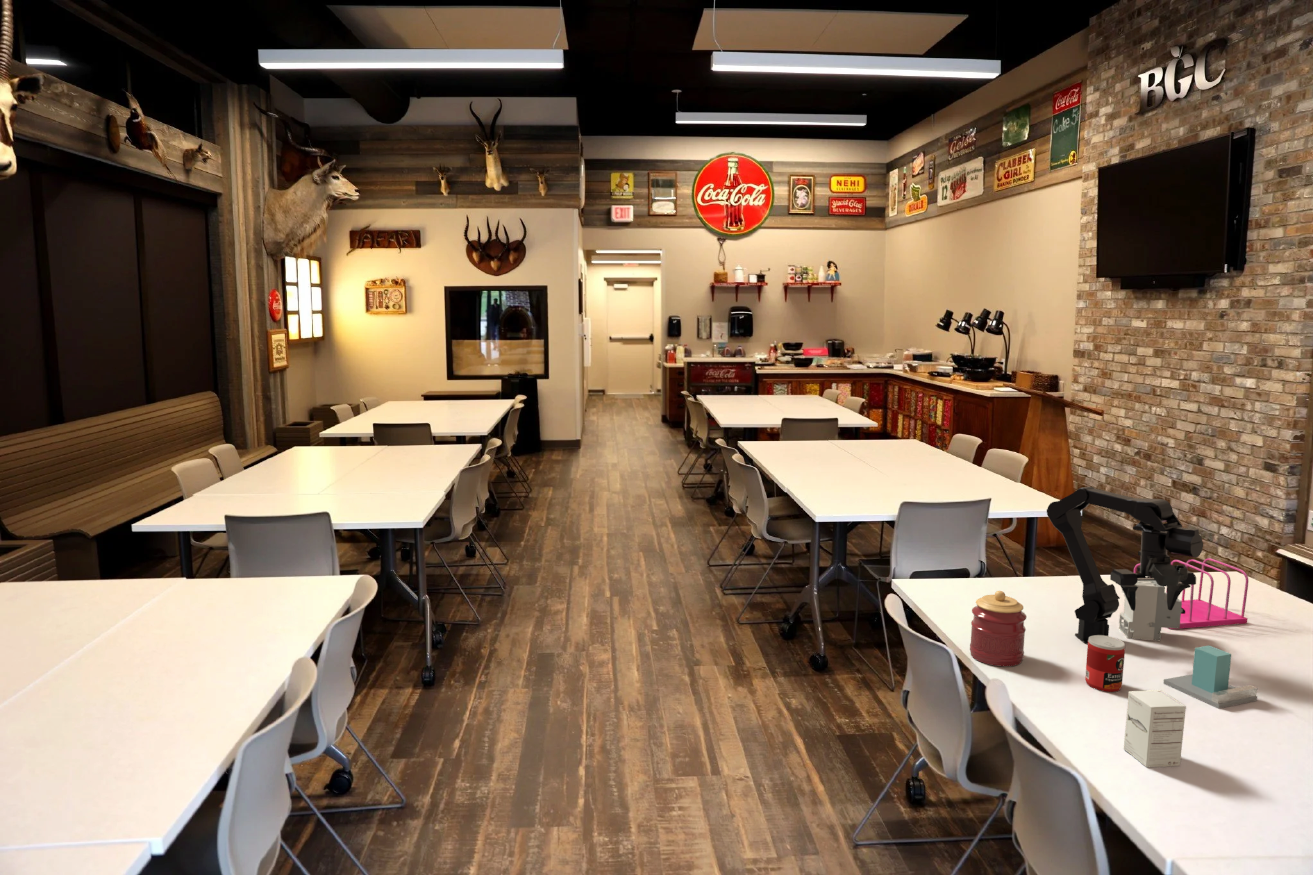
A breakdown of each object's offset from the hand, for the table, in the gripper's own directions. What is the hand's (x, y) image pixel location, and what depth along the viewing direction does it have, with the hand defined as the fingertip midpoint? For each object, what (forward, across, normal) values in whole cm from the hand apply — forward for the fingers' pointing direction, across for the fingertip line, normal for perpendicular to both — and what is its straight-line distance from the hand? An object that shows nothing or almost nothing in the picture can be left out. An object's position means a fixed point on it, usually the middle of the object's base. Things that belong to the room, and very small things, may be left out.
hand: (1151, 610), depth 219 cm
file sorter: (+13, +28, +32) cm, 45 cm away
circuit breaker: (+13, +10, +17) cm, 23 cm away
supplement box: (+14, -26, -50) cm, 58 cm away
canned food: (+13, -19, -16) cm, 28 cm away
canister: (+12, -39, 0) cm, 41 cm away
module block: (+13, +4, -19) cm, 23 cm away
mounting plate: (+14, +4, -19) cm, 24 cm away
